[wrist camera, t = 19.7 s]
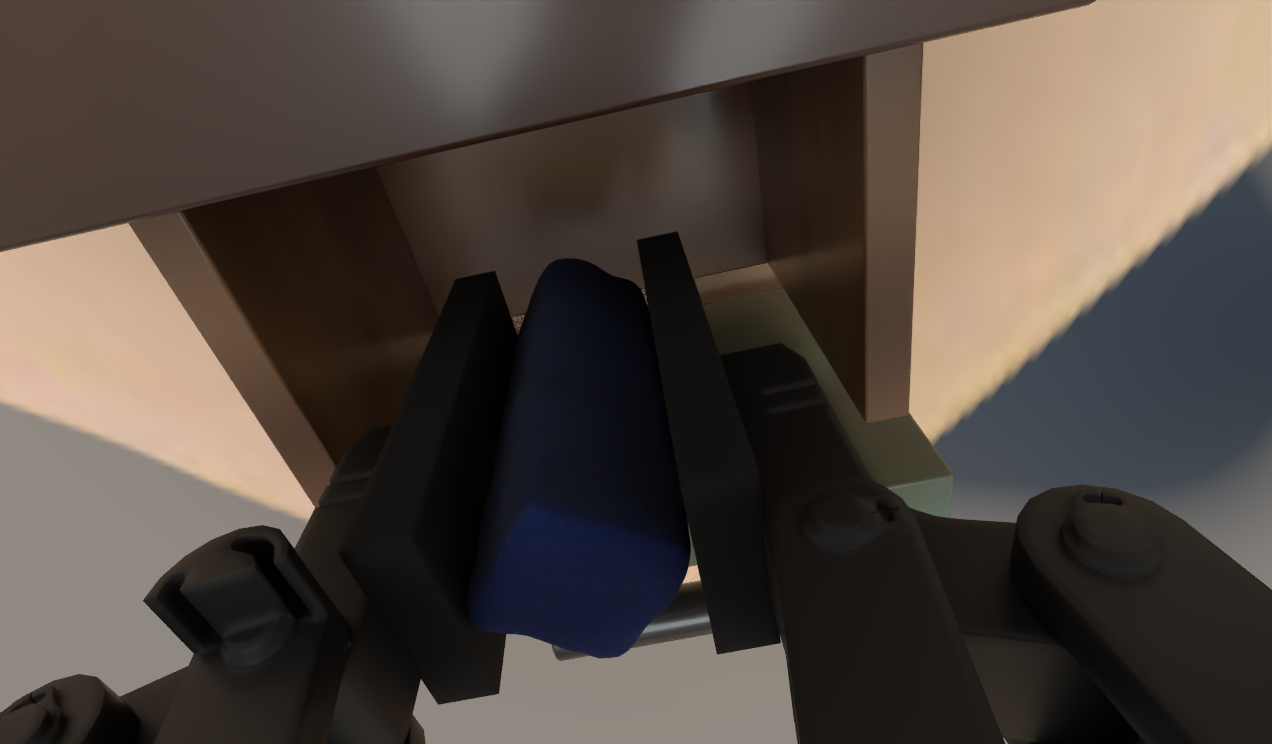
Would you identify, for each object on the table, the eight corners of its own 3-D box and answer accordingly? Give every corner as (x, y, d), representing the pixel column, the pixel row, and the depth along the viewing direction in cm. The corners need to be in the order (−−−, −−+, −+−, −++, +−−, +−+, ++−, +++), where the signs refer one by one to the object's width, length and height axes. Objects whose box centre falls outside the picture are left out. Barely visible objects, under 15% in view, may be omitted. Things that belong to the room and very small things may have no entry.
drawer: (824, 468, 24) (934, 700, 16) (495, 531, 24) (454, 782, 17) (781, -343, 12) (1080, -829, 5) (170, -182, 13) (-403, -391, 6)
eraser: (553, 239, 12) (513, 507, 6) (659, 288, 12) (716, 572, 7) (509, 331, 13) (438, 637, 7) (609, 372, 13) (620, 682, 8)
